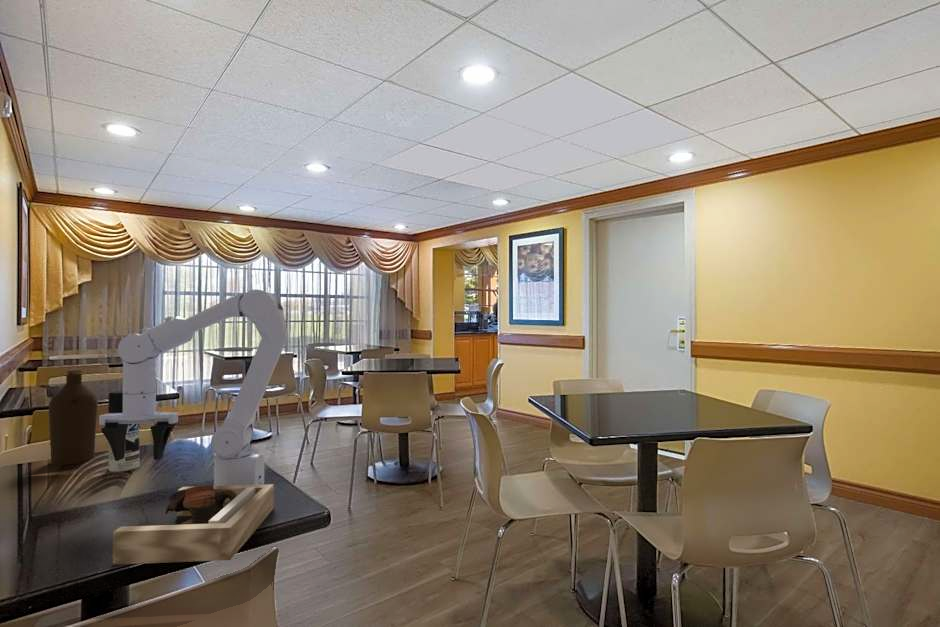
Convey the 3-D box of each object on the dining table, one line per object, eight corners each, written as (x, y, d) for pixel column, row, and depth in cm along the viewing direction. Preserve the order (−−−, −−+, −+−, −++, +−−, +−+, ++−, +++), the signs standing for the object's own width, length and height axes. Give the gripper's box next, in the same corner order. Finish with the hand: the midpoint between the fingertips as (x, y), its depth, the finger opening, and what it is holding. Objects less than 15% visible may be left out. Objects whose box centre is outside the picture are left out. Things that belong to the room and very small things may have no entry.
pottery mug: (162, 543, 87) (157, 494, 90) (178, 547, 95) (172, 502, 98) (238, 518, 91) (230, 473, 94) (247, 524, 99) (240, 482, 102)
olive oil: (106, 457, 143) (107, 368, 144) (65, 468, 133) (66, 371, 134) (80, 454, 147) (81, 367, 147) (38, 464, 137) (39, 370, 137)
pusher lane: (273, 509, 102) (273, 484, 102) (230, 560, 80) (230, 527, 80) (182, 512, 101) (182, 486, 101) (112, 564, 79) (113, 531, 79)
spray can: (127, 473, 128) (128, 393, 128) (101, 473, 128) (101, 393, 129) (145, 465, 135) (145, 389, 135) (119, 466, 135) (120, 389, 135)
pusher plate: (255, 512, 99) (255, 486, 99) (218, 552, 82) (218, 520, 82) (247, 513, 99) (247, 487, 99) (208, 552, 82) (208, 520, 82)
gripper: (185, 389, 110) (185, 453, 110) (114, 390, 109) (114, 455, 109) (168, 394, 103) (168, 462, 103) (92, 395, 102) (91, 464, 102)
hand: (139, 459), depth 105 cm, fingers open, 7 cm apart
